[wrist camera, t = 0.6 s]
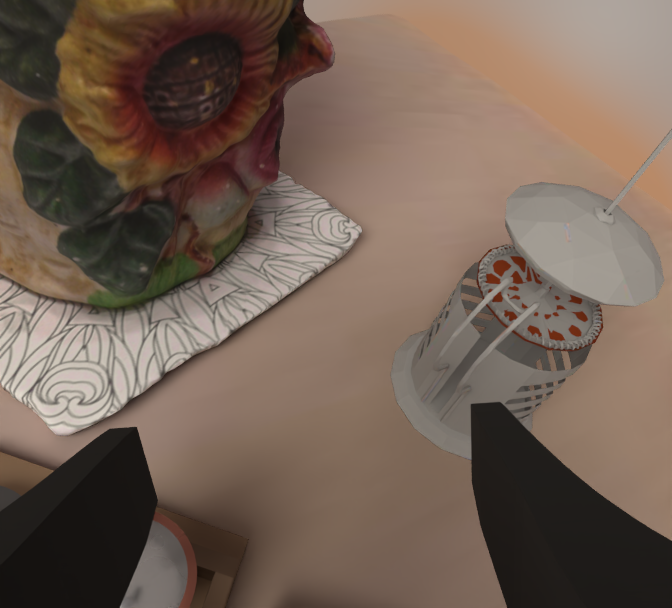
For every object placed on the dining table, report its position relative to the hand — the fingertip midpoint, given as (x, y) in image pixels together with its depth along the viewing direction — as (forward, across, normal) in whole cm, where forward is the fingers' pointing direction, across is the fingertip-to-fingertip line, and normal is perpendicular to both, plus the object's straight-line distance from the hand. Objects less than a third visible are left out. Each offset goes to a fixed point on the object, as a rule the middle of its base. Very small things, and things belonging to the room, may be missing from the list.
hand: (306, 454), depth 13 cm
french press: (+22, -6, +13) cm, 27 cm away
